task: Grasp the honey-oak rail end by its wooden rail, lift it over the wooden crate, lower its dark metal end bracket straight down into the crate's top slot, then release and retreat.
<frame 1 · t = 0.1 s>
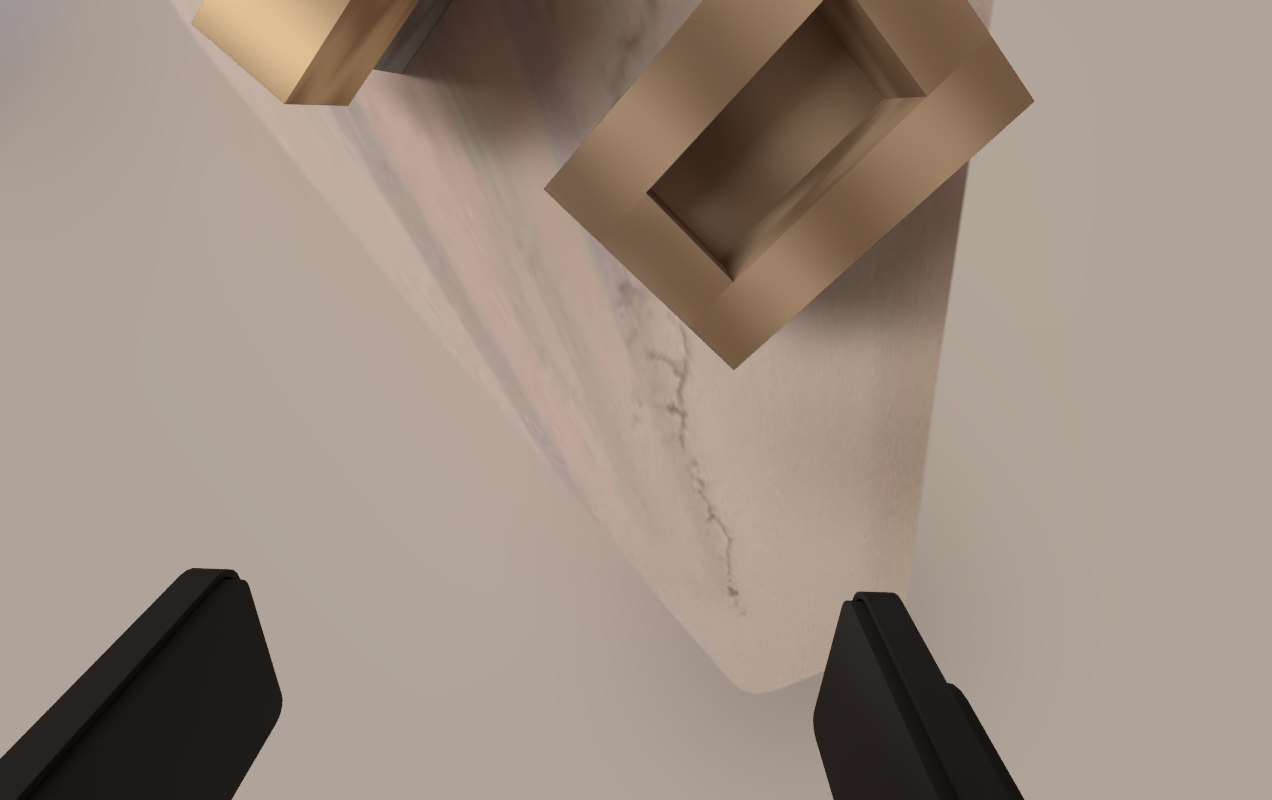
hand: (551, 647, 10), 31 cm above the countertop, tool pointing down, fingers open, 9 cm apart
wooden crate: (724, 133, 35), on the countertop
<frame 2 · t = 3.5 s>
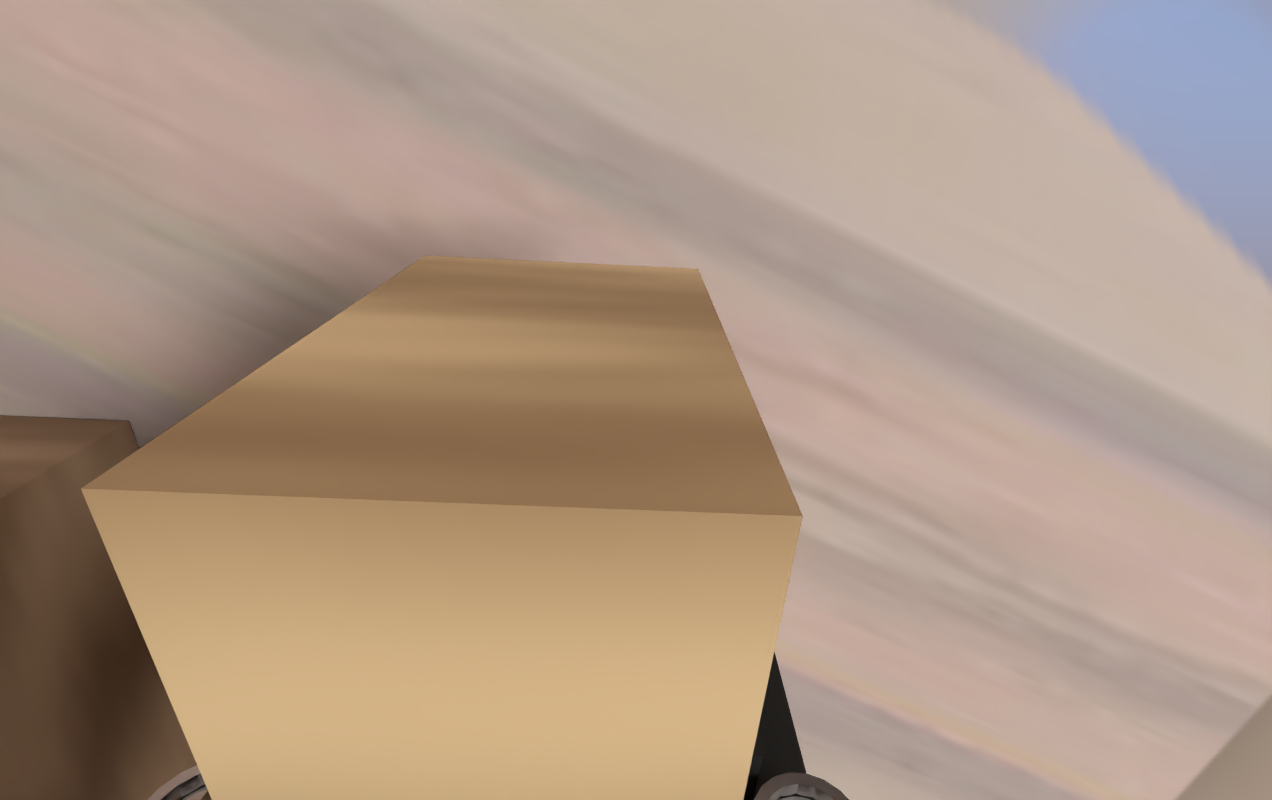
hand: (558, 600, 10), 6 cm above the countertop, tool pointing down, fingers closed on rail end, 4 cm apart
wooden crate: (28, 615, 18), on the countertop
rail end: (583, 429, 16), on the countertop, touching gripper
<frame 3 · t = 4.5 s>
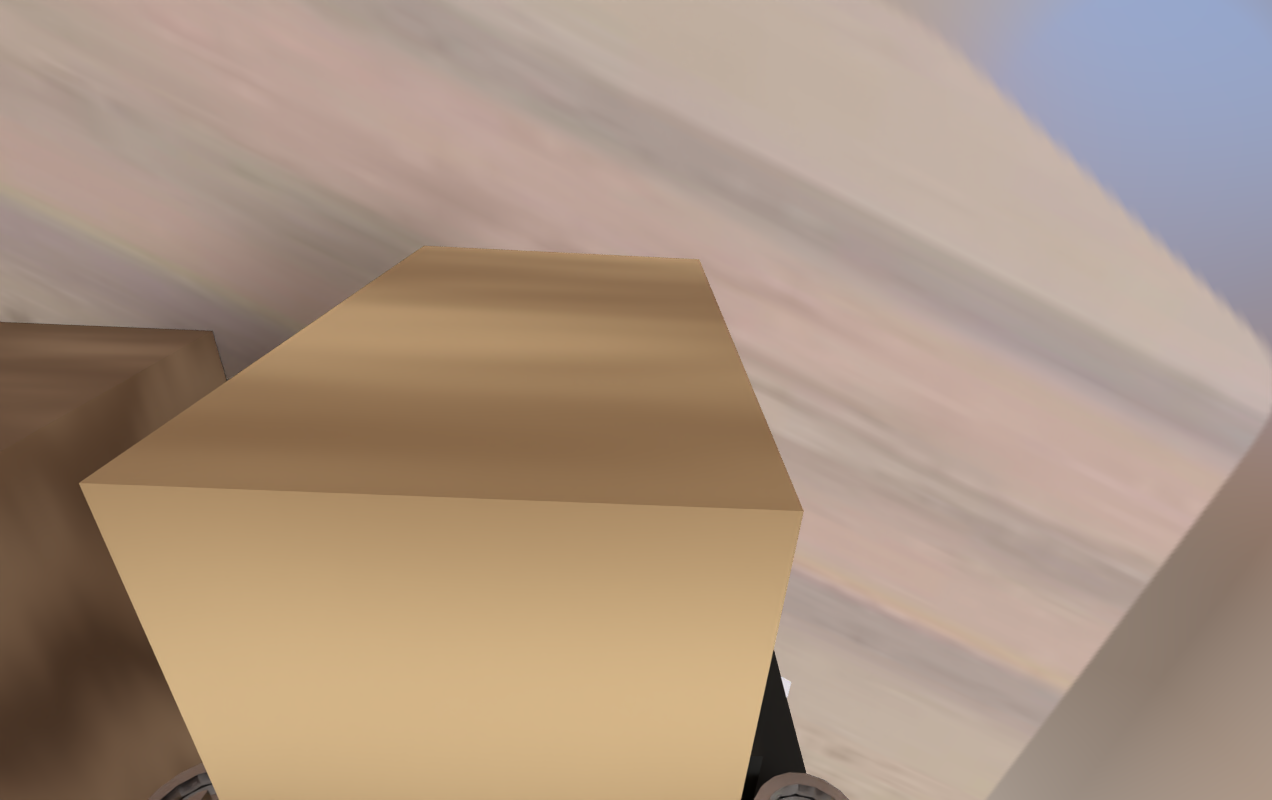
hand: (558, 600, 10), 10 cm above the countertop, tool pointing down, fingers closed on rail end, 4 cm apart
wooden crate: (119, 503, 22), on the countertop
rail end: (583, 420, 16), point 4 cm above the countertop, touching gripper
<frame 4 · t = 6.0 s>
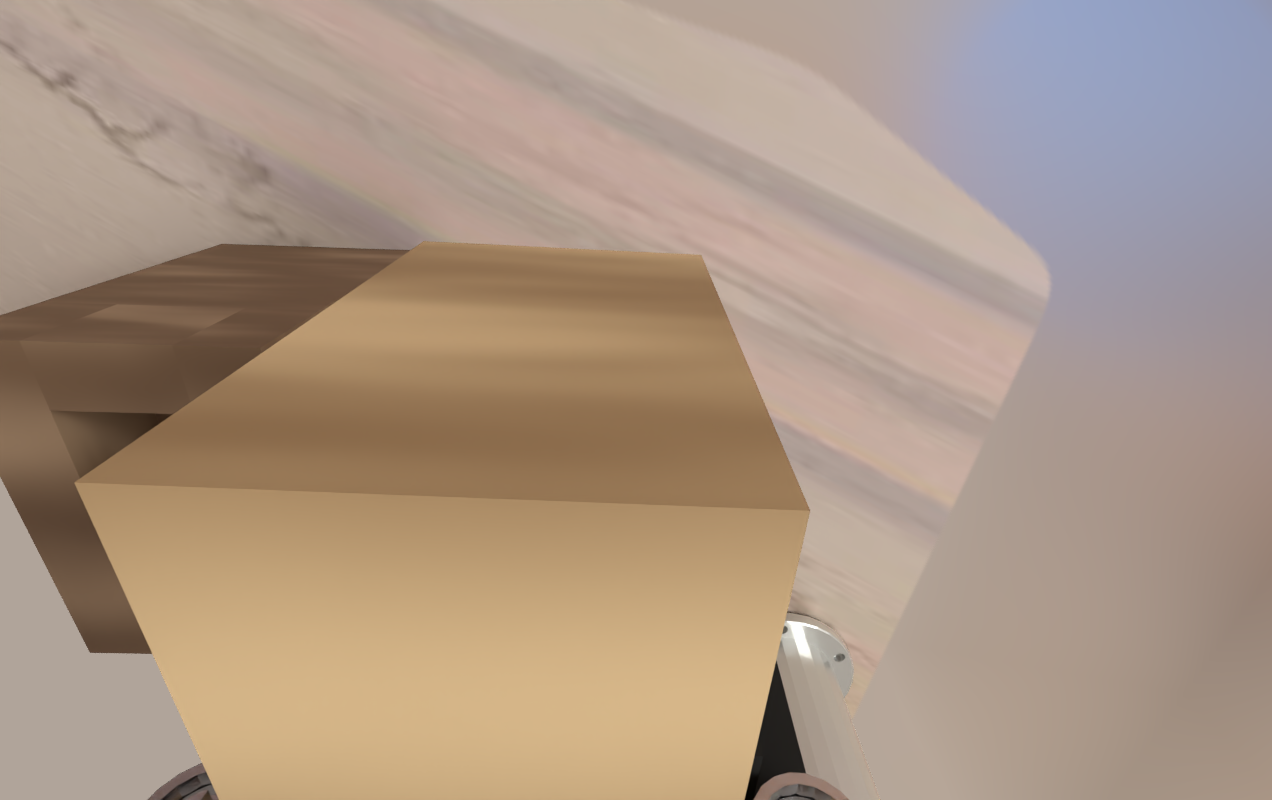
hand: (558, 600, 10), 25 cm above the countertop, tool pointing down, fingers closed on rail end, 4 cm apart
wooden crate: (341, 365, 36), on the countertop
rail end: (584, 416, 16), point 19 cm above the countertop, touching gripper
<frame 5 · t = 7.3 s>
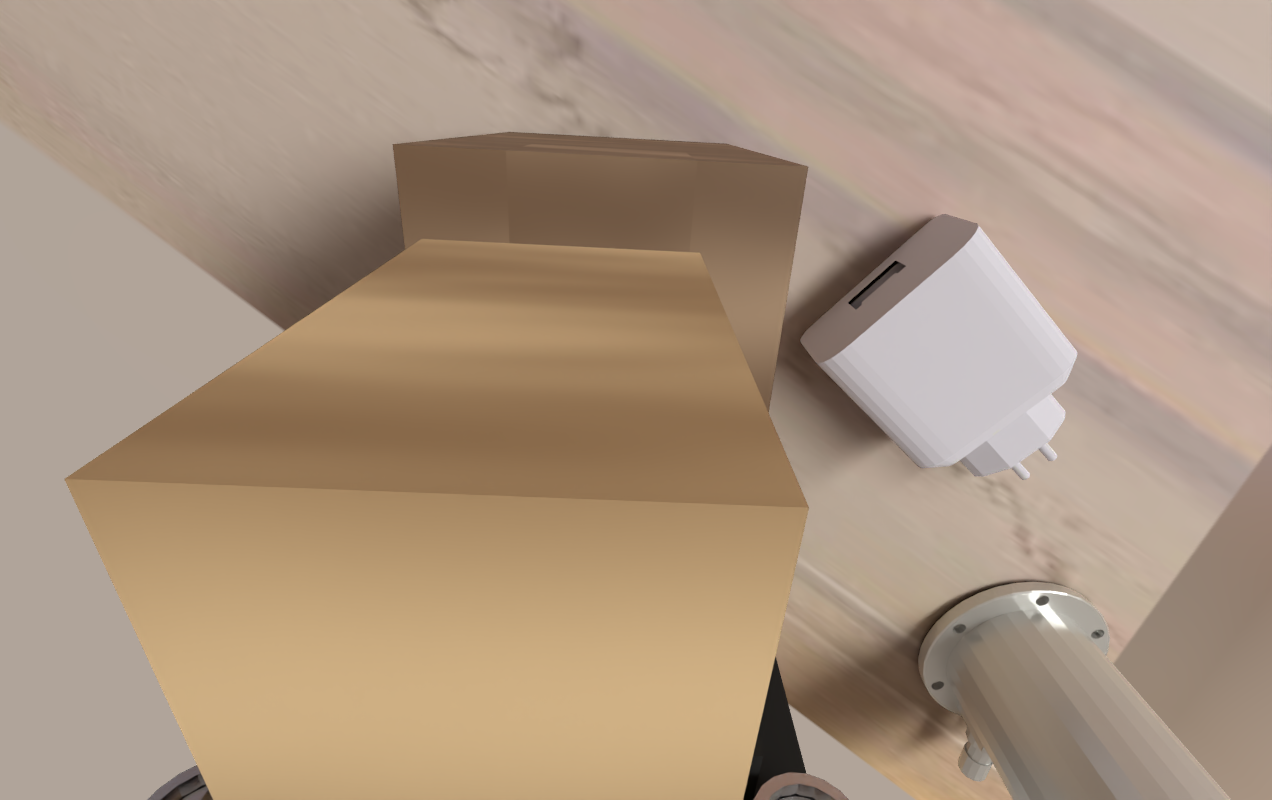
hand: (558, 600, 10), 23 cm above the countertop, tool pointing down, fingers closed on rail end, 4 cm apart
wooden crate: (613, 282, 31), on the countertop
rail end: (583, 415, 16), point 17 cm above the countertop, touching gripper
charger: (942, 365, 34), on the countertop
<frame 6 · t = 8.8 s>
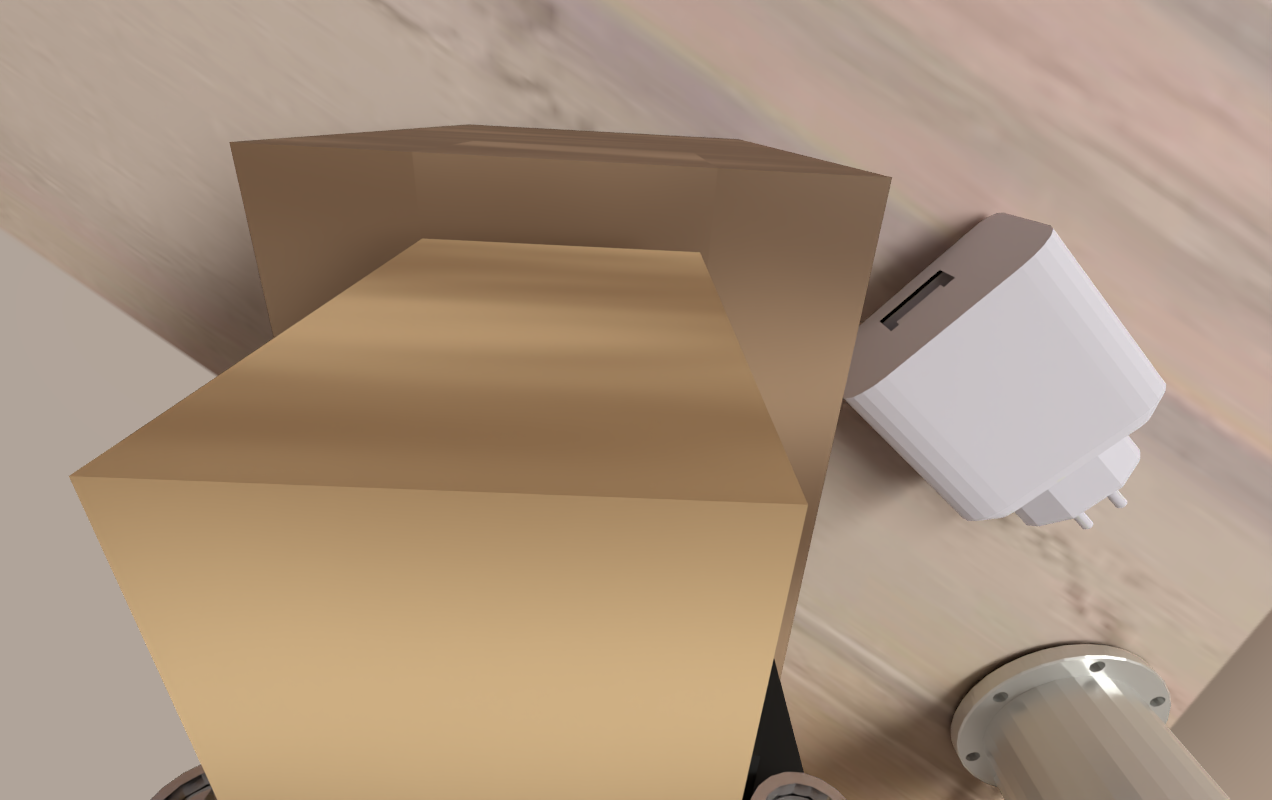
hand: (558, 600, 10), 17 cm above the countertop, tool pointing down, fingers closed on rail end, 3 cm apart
wooden crate: (600, 308, 26), on the countertop
rail end: (583, 415, 16), point 11 cm above the countertop, touching gripper
charger: (988, 393, 28), on the countertop
when the fingers open (17 cm above the countertop, at t = 8.9 s): rail end stays where it is, resting on wooden crate.
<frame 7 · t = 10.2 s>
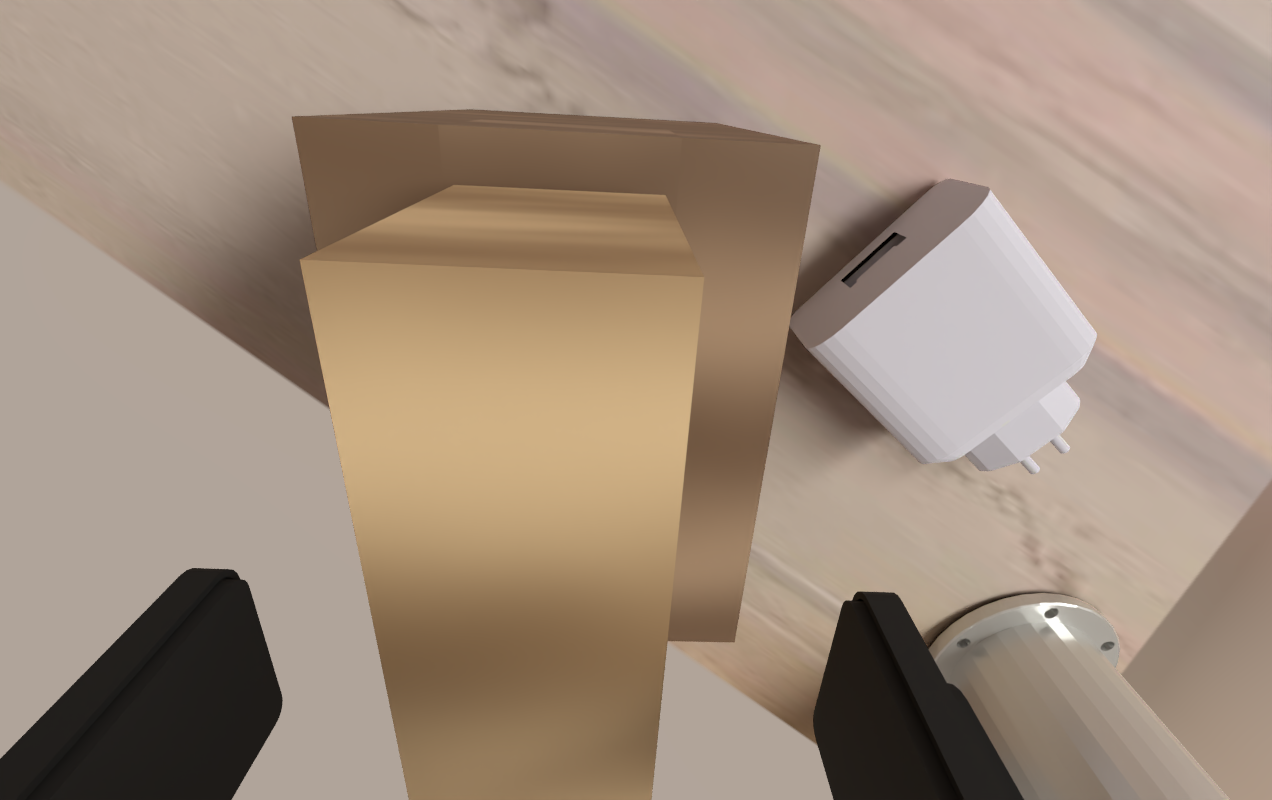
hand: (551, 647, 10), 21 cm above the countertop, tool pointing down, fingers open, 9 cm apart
wooden crate: (590, 279, 28), on the countertop
rail end: (577, 357, 18), point 11 cm above the countertop, touching wooden crate
charger: (944, 349, 31), on the countertop
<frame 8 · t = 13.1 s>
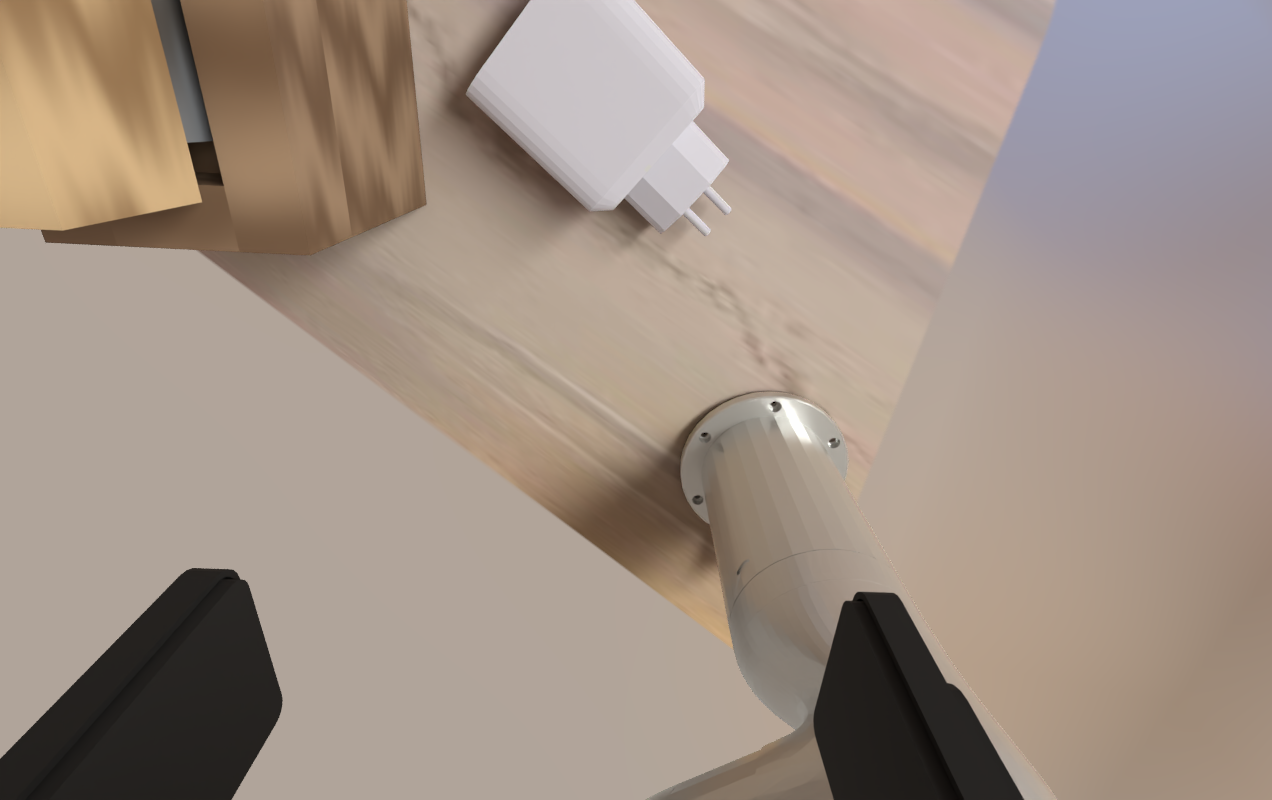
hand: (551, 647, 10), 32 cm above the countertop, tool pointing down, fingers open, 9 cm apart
wooden crate: (323, 73, 34), on the countertop
rail end: (196, 42, 24), point 11 cm above the countertop, touching wooden crate
charger: (628, 129, 36), on the countertop
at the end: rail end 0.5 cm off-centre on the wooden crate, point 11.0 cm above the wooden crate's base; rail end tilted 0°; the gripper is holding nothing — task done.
